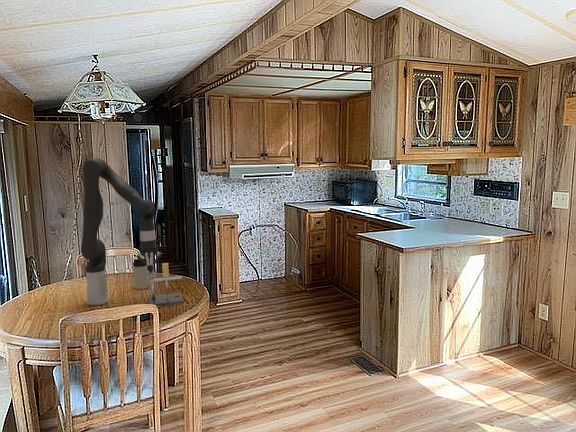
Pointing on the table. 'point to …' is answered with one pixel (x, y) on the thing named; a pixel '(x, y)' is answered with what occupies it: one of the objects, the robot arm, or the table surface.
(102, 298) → the robot arm
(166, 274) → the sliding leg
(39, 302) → the table surface
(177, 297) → the bolt plate
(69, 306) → the table surface
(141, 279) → the travel mug
